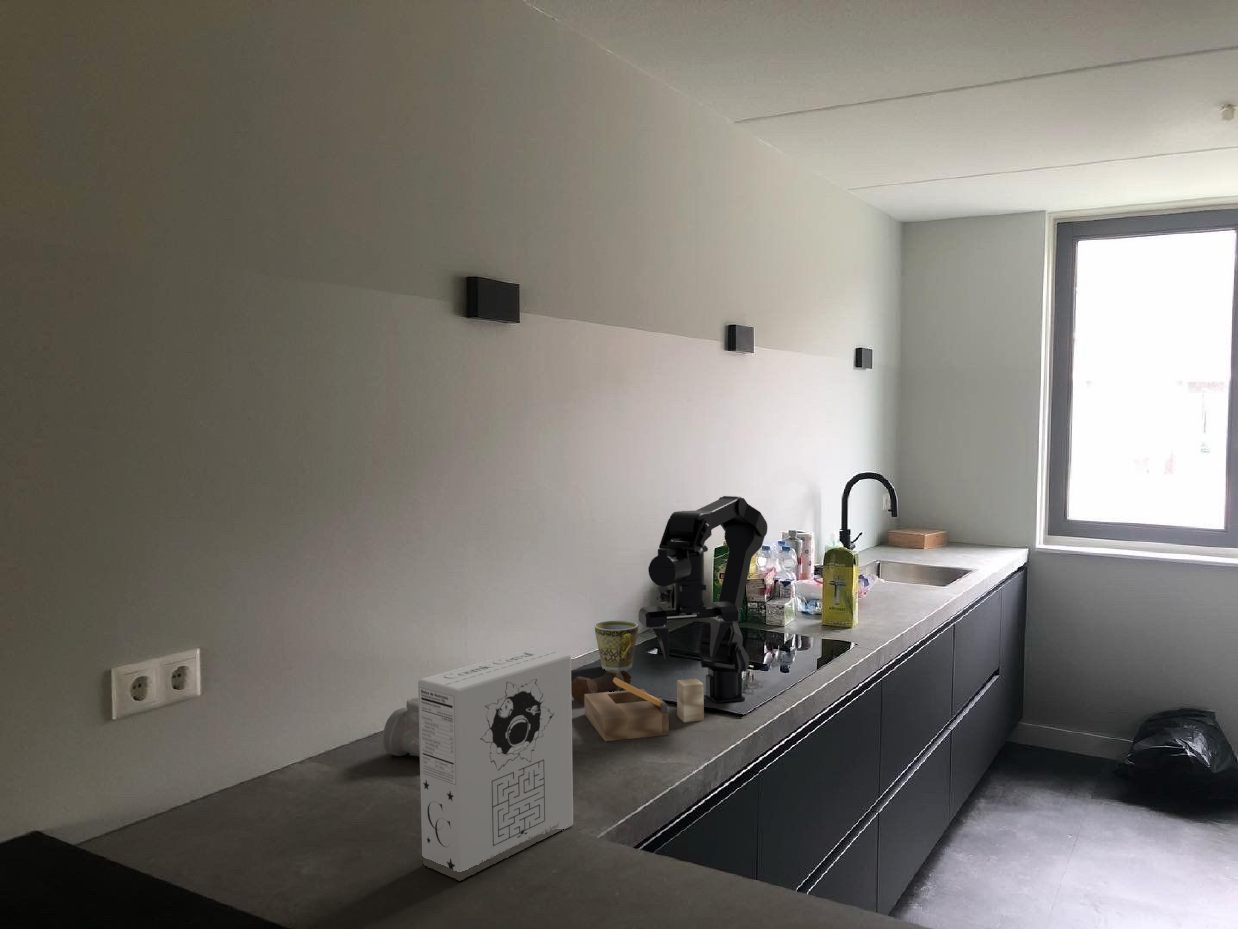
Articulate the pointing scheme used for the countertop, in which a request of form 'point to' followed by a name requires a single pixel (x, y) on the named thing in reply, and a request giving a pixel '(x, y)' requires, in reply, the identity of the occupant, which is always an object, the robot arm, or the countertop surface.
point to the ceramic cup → (616, 644)
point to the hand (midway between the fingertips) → (689, 658)
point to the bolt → (597, 684)
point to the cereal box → (495, 755)
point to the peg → (690, 700)
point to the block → (625, 715)
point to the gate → (638, 692)
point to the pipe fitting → (403, 730)
